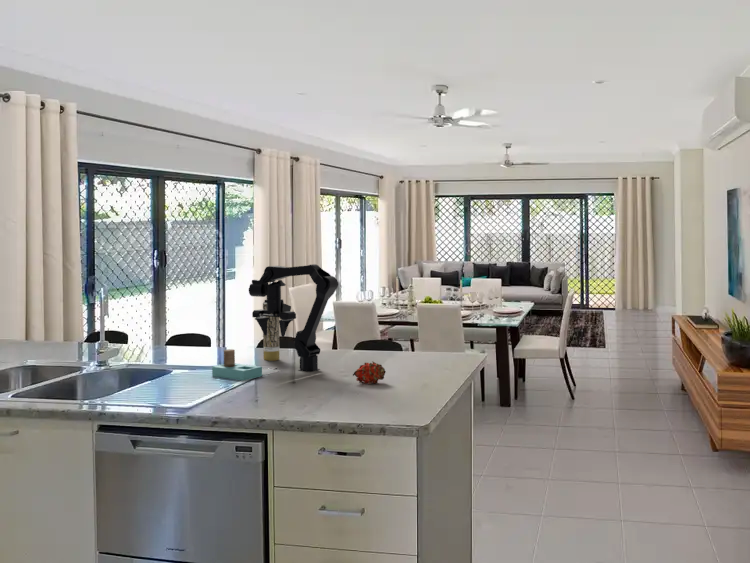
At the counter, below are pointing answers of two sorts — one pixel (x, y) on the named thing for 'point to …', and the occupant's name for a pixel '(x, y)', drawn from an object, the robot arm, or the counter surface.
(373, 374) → the dragon fruit
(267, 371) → the rubber mat
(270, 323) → the paper tube
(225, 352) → the walnut peg
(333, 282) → the robot arm
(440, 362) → the counter surface
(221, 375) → the hole block
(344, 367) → the counter surface
